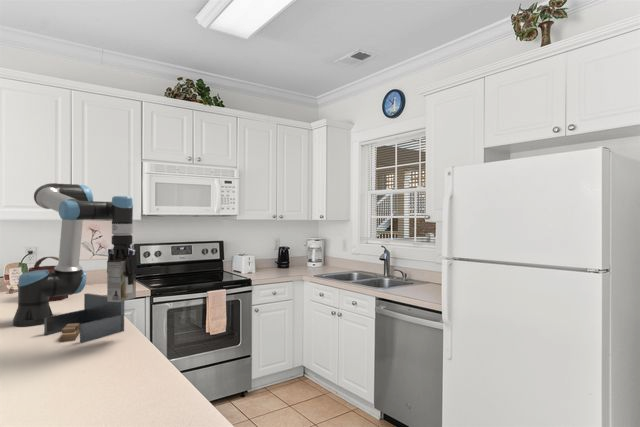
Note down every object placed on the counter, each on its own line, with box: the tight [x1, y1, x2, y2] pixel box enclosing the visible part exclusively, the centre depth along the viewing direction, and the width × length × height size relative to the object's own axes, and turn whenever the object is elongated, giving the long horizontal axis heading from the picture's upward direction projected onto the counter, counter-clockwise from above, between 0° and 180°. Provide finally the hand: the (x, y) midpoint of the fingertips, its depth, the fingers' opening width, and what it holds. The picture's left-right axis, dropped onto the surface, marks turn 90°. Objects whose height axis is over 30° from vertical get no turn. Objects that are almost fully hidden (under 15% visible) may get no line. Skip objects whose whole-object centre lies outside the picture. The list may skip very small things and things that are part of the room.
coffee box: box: [106, 259, 137, 302], centre depth 163 cm, size 9×6×16 cm
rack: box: [43, 292, 125, 344], centre depth 171 cm, size 24×19×14 cm
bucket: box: [28, 256, 69, 303], centre depth 239 cm, size 24×22×25 cm
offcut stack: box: [59, 323, 80, 343], centre depth 165 cm, size 12×6×4 cm, turn 23°
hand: (121, 292), depth 163 cm, fingers closed on coffee box, 7 cm apart
